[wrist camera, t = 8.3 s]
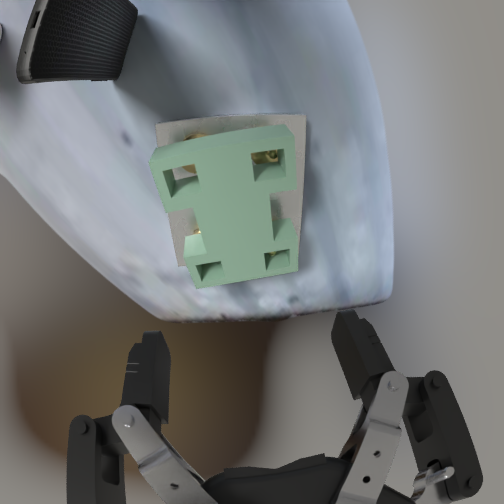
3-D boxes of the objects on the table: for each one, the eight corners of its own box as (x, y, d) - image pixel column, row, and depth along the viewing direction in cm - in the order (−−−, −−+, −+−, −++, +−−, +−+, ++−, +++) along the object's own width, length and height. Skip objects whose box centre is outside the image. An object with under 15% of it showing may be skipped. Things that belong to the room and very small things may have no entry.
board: (196, 267, 29) (196, 288, 27) (155, 147, 20) (148, 162, 18) (291, 250, 29) (298, 271, 27) (284, 123, 20) (294, 135, 18)
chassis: (179, 258, 32) (175, 285, 28) (158, 122, 23) (146, 129, 19) (295, 248, 33) (306, 272, 29) (301, 113, 24) (318, 119, 20)
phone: (129, 10, 15) (55, -42, 3) (140, 10, 16) (72, -47, 3) (109, 81, 19) (12, 87, 7) (119, 81, 20) (26, 86, 7)
